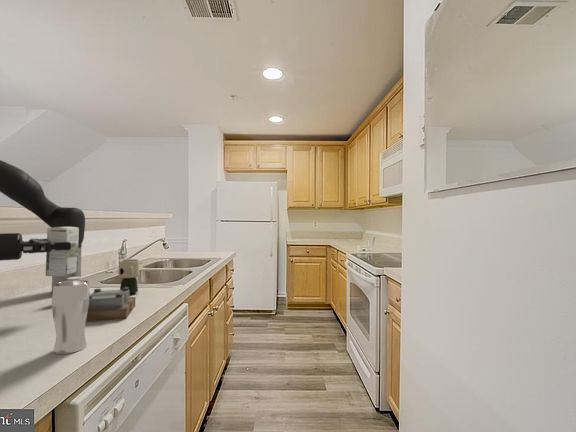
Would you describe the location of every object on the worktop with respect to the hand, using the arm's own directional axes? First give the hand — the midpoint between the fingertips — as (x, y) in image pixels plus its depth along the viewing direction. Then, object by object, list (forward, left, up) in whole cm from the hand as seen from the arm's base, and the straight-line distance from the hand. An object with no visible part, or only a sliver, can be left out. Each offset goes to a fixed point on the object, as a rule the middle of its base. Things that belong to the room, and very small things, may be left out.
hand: (71, 244), depth 91 cm
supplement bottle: (-14, -4, -22) cm, 26 cm away
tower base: (+3, +11, -21) cm, 24 cm away
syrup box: (+1, -2, -9) cm, 9 cm away
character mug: (-21, +12, -22) cm, 33 cm away
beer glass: (+28, +10, -22) cm, 37 cm away
